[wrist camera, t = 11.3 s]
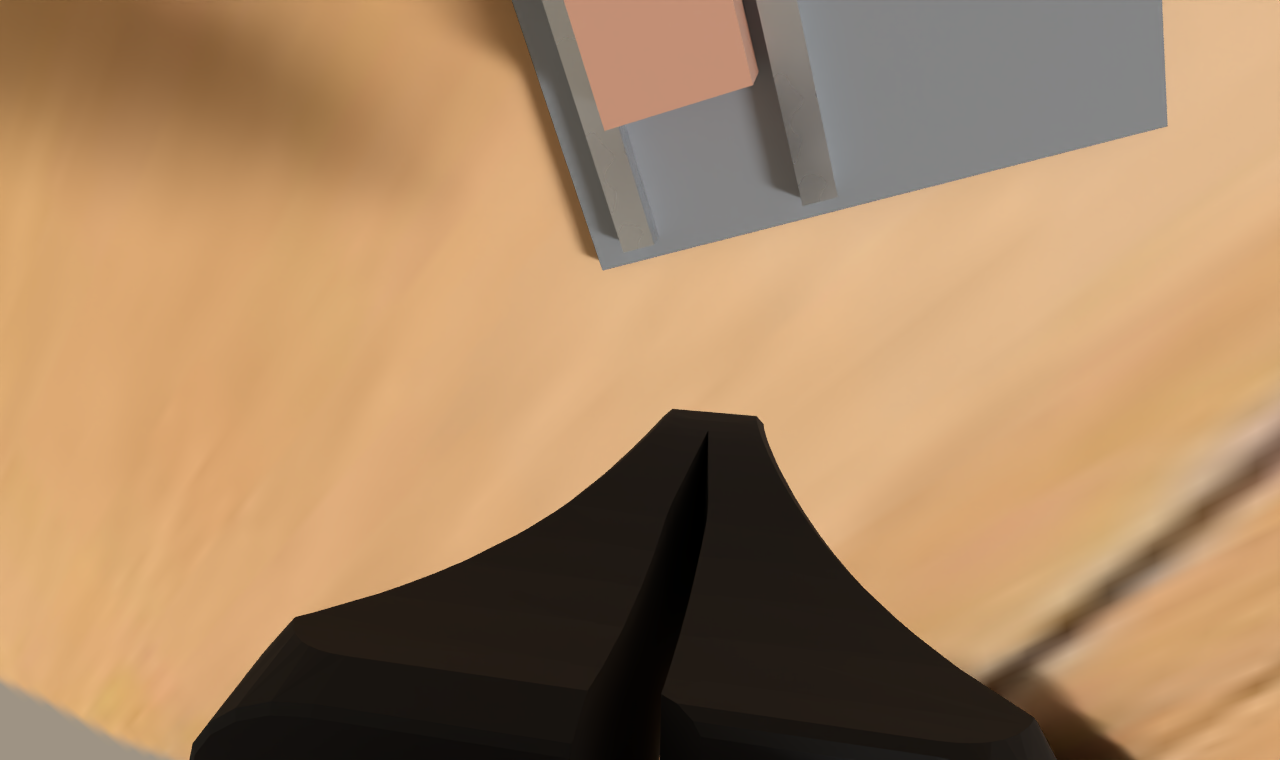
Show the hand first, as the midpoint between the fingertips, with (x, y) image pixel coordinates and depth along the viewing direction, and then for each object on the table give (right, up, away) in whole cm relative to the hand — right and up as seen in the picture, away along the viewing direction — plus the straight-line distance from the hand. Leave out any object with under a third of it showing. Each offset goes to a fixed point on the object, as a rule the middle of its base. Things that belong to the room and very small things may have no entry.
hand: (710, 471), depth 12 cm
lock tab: (0, +9, +6) cm, 11 cm away
